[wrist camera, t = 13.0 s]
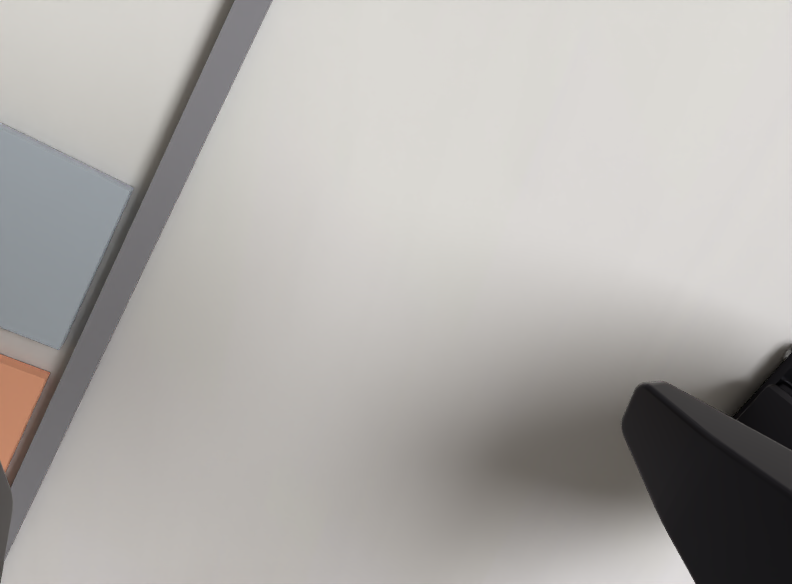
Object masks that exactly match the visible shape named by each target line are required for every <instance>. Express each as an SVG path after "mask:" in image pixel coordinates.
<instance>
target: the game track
mask: <svg viewBox="0 0 792 584" xmlns="http://www.w3.org/2000/svg"><path fill="white" fill-rule="evenodd" d="M272 1H273V0H235V1H234V3H233V5H232V7H231V9H230V12H229V14H228V16H227V18H226V20H225V22H224V25H223V27H222V29H221V31H220V33H219V36H218V38H217V40H216V42H215V44H214V46H213V49H212V51H211V53H210V55H209V57H208V59H207V62H206V64H205V66H204V68H203V70H202V73H201V75H200V77H199V79H198V81H197V83H196V86H195V88H194V90H193V92H192V94H191V96H190V99H189V101H188V103H187V105H186V107H185V110H184V112H183V114H182V116H181V118H180V120H179V123H178V125H177V127H176V129H175V131H174V133H173V136H172V138H171V140H170V142H169V144H168V147H167V149H166V151H165V153H164V155H163V157H162V160H161V162H160V164H159V166H158V168H157V170H156V173H155V175H154V177H153V179H152V181H151V184H150V186H149V188H148V190H147V192H146V194H145V197H144V199H143V201H142V203H141V205H140V208H139V210H138V212H137V214H136V216H135V218H134V221H133V223H132V225H131V227H130V229H129V231H128V234H127V236H126V238H125V240H124V242H123V245H122V247H121V249H120V251H119V253H118V255H117V258H116V260H115V262H114V264H113V266H112V268H111V271H110V273H109V275H108V277H107V279H106V282H105V284H104V286H103V288H102V290H101V292H100V295H99V297H98V299H97V301H96V303H95V305H94V308H93V310H92V312H91V314H90V316H89V319H88V321H87V323H86V325H85V327H84V329H83V332H82V334H81V336H80V338H79V340H78V342H77V345H76V347H75V349H74V351H73V353H72V356H71V358H70V360H69V362H68V364H67V366H66V369H65V371H64V373H63V375H62V377H61V379H60V382H59V384H58V386H57V388H56V390H55V393H54V395H53V397H52V399H51V401H50V403H49V406H48V408H47V410H46V412H45V414H44V416H43V419H42V421H41V423H40V425H39V427H38V430H37V432H36V434H35V436H34V438H33V440H32V443H31V445H30V447H29V449H28V451H27V453H26V456H25V458H24V460H23V462H22V464H21V467H20V469H19V471H18V473H17V475H16V477H15V480H14V482H13V484H12V486H11V488H10V489H11V492H12V497H13V511H12V517H11V523H10V529H9V535H8V541H7V547H6V553H5V558H6V556H7V554H8V552H9V550H10V548H11V546H12V544H13V542H14V540H15V538H16V535H17V533H18V531H19V529H20V527H21V525H22V523H23V521H24V519H25V517H26V515H27V512H28V510H29V508H30V506H31V504H32V502H33V500H34V498H35V496H36V494H37V492H38V490H39V487H40V485H41V483H42V481H43V479H44V477H45V475H46V473H47V471H48V469H49V467H50V464H51V462H52V460H53V458H54V456H55V454H56V452H57V450H58V448H59V446H60V444H61V441H62V439H63V437H64V435H65V433H66V431H67V429H68V427H69V425H70V423H71V421H72V418H73V416H74V414H75V412H76V410H77V408H78V406H79V404H80V402H81V400H82V398H83V395H84V393H85V391H86V389H87V387H88V385H89V383H90V381H91V379H92V377H93V375H94V373H95V370H96V368H97V366H98V364H99V362H100V360H101V358H102V356H103V354H104V352H105V350H106V347H107V345H108V343H109V341H110V339H111V337H112V335H113V333H114V331H115V329H116V327H117V324H118V322H119V320H120V318H121V316H122V314H123V312H124V310H125V308H126V306H127V304H128V301H129V299H130V297H131V295H132V293H133V291H134V289H135V287H136V285H137V283H138V281H139V278H140V276H141V274H142V272H143V270H144V268H145V266H146V264H147V262H148V260H149V258H150V256H151V253H152V251H153V249H154V247H155V245H156V243H157V241H158V239H159V237H160V235H161V233H162V230H163V228H164V226H165V224H166V222H167V220H168V218H169V216H170V214H171V212H172V210H173V207H174V205H175V203H176V201H177V199H178V197H179V195H180V193H181V191H182V189H183V187H184V184H185V182H186V180H187V178H188V176H189V174H190V172H191V170H192V168H193V166H194V164H195V161H196V159H197V157H198V155H199V153H200V151H201V149H202V147H203V145H204V143H205V141H206V139H207V136H208V134H209V132H210V130H211V128H212V126H213V124H214V122H215V120H216V118H217V116H218V113H219V111H220V109H221V107H222V105H223V103H224V101H225V99H226V97H227V95H228V93H229V90H230V88H231V86H232V84H233V82H234V80H235V78H236V76H237V74H238V72H239V70H240V67H241V65H242V63H243V61H244V59H245V57H246V55H247V53H248V51H249V49H250V47H251V44H252V42H253V40H254V38H255V36H256V34H257V32H258V30H259V28H260V26H261V24H262V22H263V19H264V17H265V15H266V13H267V11H268V9H269V7H270V5H271V3H272ZM133 189H134V188H133V187H131V186H129V185H127V184H125V183H123V182H121V181H119V180H117V179H115V178H113V177H111V176H109V175H107V174H105V173H103V172H101V171H99V170H97V169H95V168H93V167H90V166H88V165H86V164H84V163H82V162H80V161H78V160H76V159H74V158H72V157H70V156H68V155H66V154H64V153H62V152H60V151H58V150H56V149H54V148H52V147H50V146H48V145H45V144H43V143H41V142H39V141H37V140H35V139H33V138H31V137H29V136H27V135H25V134H23V133H21V132H19V131H17V130H15V129H13V128H11V127H9V126H7V125H5V124H2V123H0V327H1V328H3V329H6V330H8V331H11V332H13V333H16V334H19V335H21V336H24V337H26V338H29V339H32V340H34V341H37V342H39V343H42V344H44V345H47V346H50V347H52V348H55V349H57V350H59V349H60V348H61V346H62V345H63V344H64V342H65V339H66V337H67V335H68V333H69V330H70V328H71V326H72V324H73V322H74V319H75V317H76V315H77V313H78V310H79V308H80V306H81V304H82V302H83V299H84V297H85V295H86V293H87V291H88V288H89V286H90V284H91V282H92V279H93V277H94V275H95V273H96V271H97V268H98V266H99V264H100V262H101V259H102V257H103V255H104V253H105V251H106V248H107V246H108V244H109V242H110V240H111V237H112V235H113V233H114V231H115V228H116V226H117V224H118V222H119V220H120V217H121V215H122V213H123V211H124V209H125V206H126V204H127V202H128V200H129V197H130V195H131V193H132V191H133ZM49 375H50V372H47V371H44V370H42V369H39V368H36V367H34V366H31V365H28V364H26V363H23V362H20V361H18V360H15V359H12V358H10V357H7V356H4V355H1V354H0V461H1V464H2V466H3V469H4V472H6V470H7V468H8V466H9V463H10V461H11V459H12V457H13V455H14V452H15V450H16V448H17V446H18V443H19V441H20V439H21V437H22V435H23V432H24V430H25V428H26V426H27V424H28V421H29V419H30V417H31V415H32V412H33V410H34V408H35V406H36V404H37V401H38V399H39V397H40V395H41V392H42V390H43V388H44V386H45V384H46V381H47V379H48V377H49ZM4 561H5V559H4Z"/></svg>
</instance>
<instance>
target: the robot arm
mask: <svg viewBox="0 0 792 584" xmlns="http://www.w3.org/2000/svg"><path fill="white" fill-rule="evenodd" d="M621 425H622V432H623V435H624V438H625V440H626V442H627V445H628V447H629V449H630V452H631V454H632V456H633V458H634V461H635V463H636V465H637V468H638V470H639V472H640V474H641V477H642V479H643V481H644V484H645V486H646V488H647V491H648V493H649V495H650V497H651V500H652V502H653V504H654V507H655V509H656V511H657V513H658V515H659V517H660V519H661V521H662V523H663V525H664V527H665V529H666V531H667V533H668V535H669V537H670V538H671V540H672V542H673V544H674V546H675V547H676V549H677V551H678V553H679V555H680V556H681V558H682V560H683V562H684V564H685V566H686V567H687V569H688V571H689V573H690V575H691V576H692V578H693V580H694V582H695V584H792V353H791V354H790V355H789V356H788V357H787V358H786V359H785V361H784V362H783V363H782V364H781V365H780V366H779V367H778V368H777V369H776V371H775V372H774V373H773V374H772V375H771V376H770V377H769V378H768V379H767V381H766V382H765V383H764V384H763V385H762V386H761V387H760V388H759V389H758V390H757V392H756V393H755V394H754V395H753V396H752V397H751V398H750V399H749V400H748V402H747V403H746V404H745V405H744V406H743V407H742V408H741V409H740V410H739V412H738V413H737V414H736V415H735V416H734V417H733V418H731V417H730V416H728V415H726V414H724V413H722V412H720V411H719V410H717V409H715V408H713V407H711V406H709V405H708V404H706V403H704V402H702V401H700V400H699V399H697V398H695V397H693V396H691V395H689V394H688V393H686V392H684V391H682V390H680V389H678V388H677V387H675V386H673V385H671V384H669V383H667V382H664V381H655V382H645V383H641V384H639V385H638V386H637V387H636V388H635V390H634V392H633V395H632V397H631V399H630V402H629V404H628V406H627V409H626V411H625V413H624V415H623V418H622V424H621ZM12 511H13V497H12V492H11V489H10V486H9V483H8V480H7V477H6V475H5V472H4V469H3V466H2V464H1V461H0V583H1V577H2V571H3V565H4V559H5V553H6V547H7V541H8V535H9V529H10V523H11V517H12Z"/></svg>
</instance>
